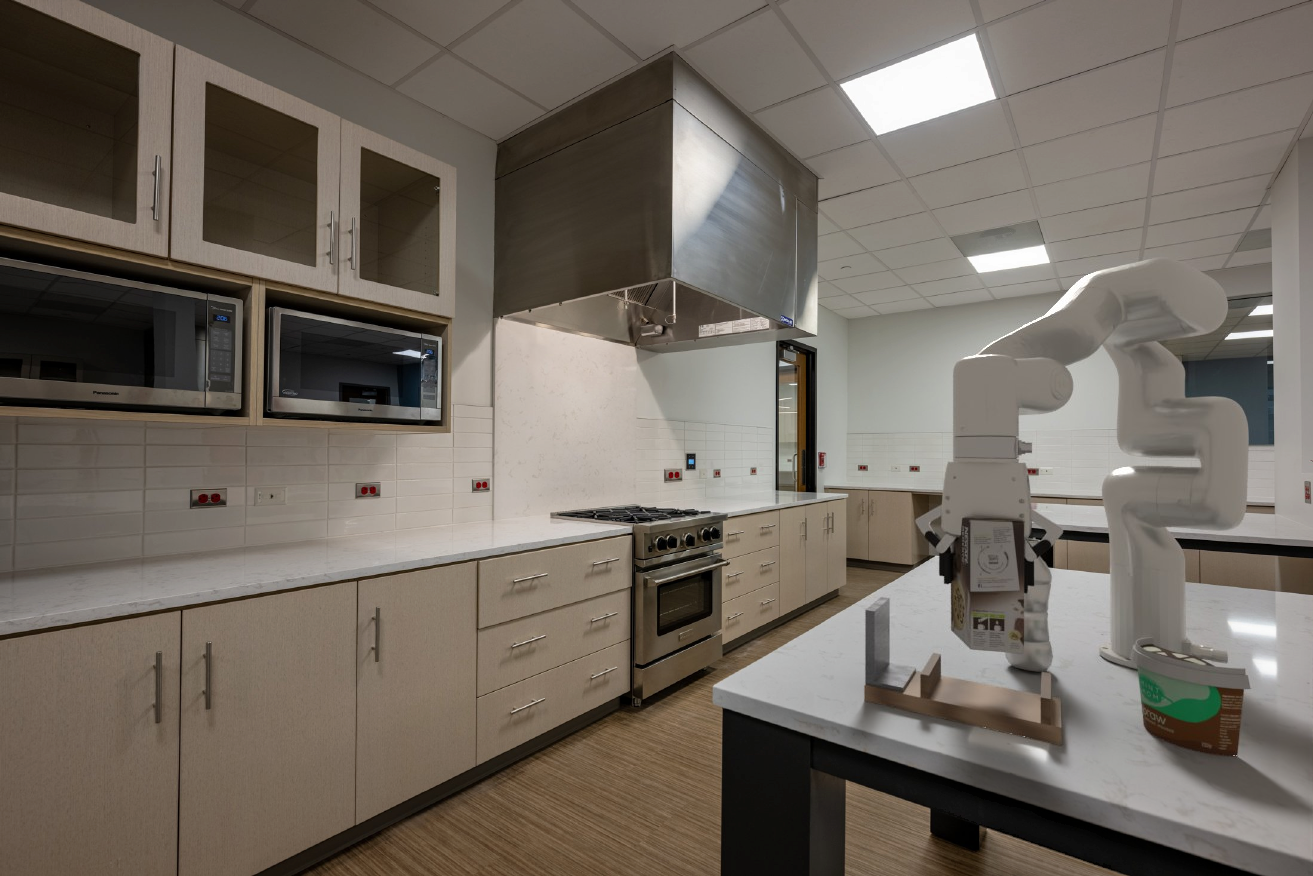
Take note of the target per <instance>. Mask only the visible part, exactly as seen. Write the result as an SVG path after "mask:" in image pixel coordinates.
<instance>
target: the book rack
mask: <svg viewBox="0 0 1313 876" xmlns="http://www.w3.org/2000/svg"><path fill="white" fill-rule="evenodd" d="M1040 677H1041V679H1040V683H1041V684H1040V694H1038V693H1035V692H1034V693H1033V692H1029V691H1023V690H1017V689H1013V688H1009V687H1003V686H998V685H992V684H986V683H982V682H977V681H976V682H975V681H972V680H971V681H970V680H967V679H961V678H956V677H950V676H945V675H942V654H941V653H938V652H932V654H931V656H930V657H929V659H928V660H927V662H926V664H925V666H924V667H923V669H922V670H921V671H919V670H916V673H915V674H914V676H913V677H912V679H911V681H910V682H909V684H908V685H907V687H906V688H905V690H904V692H899V691H894V690H889V689H885V688H880V687H875V686H871V685H866V684H864V686H863V687H864V688H863V690H864V692H863V693H864V694H863V695H864V697H863V699H864V700H863V701H865V702H869V703H873V704H879V705H882V706H887V707H890V708H896V709H901V710H904V711H908V712H914V713H918V714H921V715H926V716H931V717H935V718H941V719H943V720H948V721H953V722H958V723H961V724H965V725H971V726H974V727H975V726H976V727H978V726H979V728H983V727H986V728H985V729H987V728H989V729H988V730H992V731H996V730H998V731H997V732H1000V731H1001V733H1005V732H1006V733H1005V734H1009V733H1012V734H1011V735H1013V736H1018V735H1019V737H1022V736H1025V737H1024V738H1027V737H1028V738H1027V739H1031V738H1032V739H1033V740H1036V741H1039V742H1044V743H1049V744H1054V745H1057V746H1058V745H1059V746H1062V743H1063V742H1062V713H1061V712H1062V711H1061V710H1062V708H1061V707H1062V706H1061V705H1062V703H1061V698H1060V697H1055V696H1052V673H1051V672H1045V671H1041V676H1040Z"/></svg>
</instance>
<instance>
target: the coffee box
mask: <svg viewBox="0 0 1313 876" xmlns="http://www.w3.org/2000/svg"><path fill="white" fill-rule="evenodd" d="M1024 523H1025V521H1022V520H1014V519H1000V518H982V519H980V518H962V525H961V536H960V537H956V538H955V540H954V542H953V543H952V545H951V546H950V547H951V551H952V552H953V581H952V582H951V583H950V630H951V632H953V634H954V635H955V636H956V637H958V638H959V640H960V641H961V642H962V643H963V644H964V645H965V646H967V648H969V650H973V651H984V652H985V651H986V652H996V653H997V652H998V653H1005V652H1007V653H1017V654H1023V653H1024Z"/></svg>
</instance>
